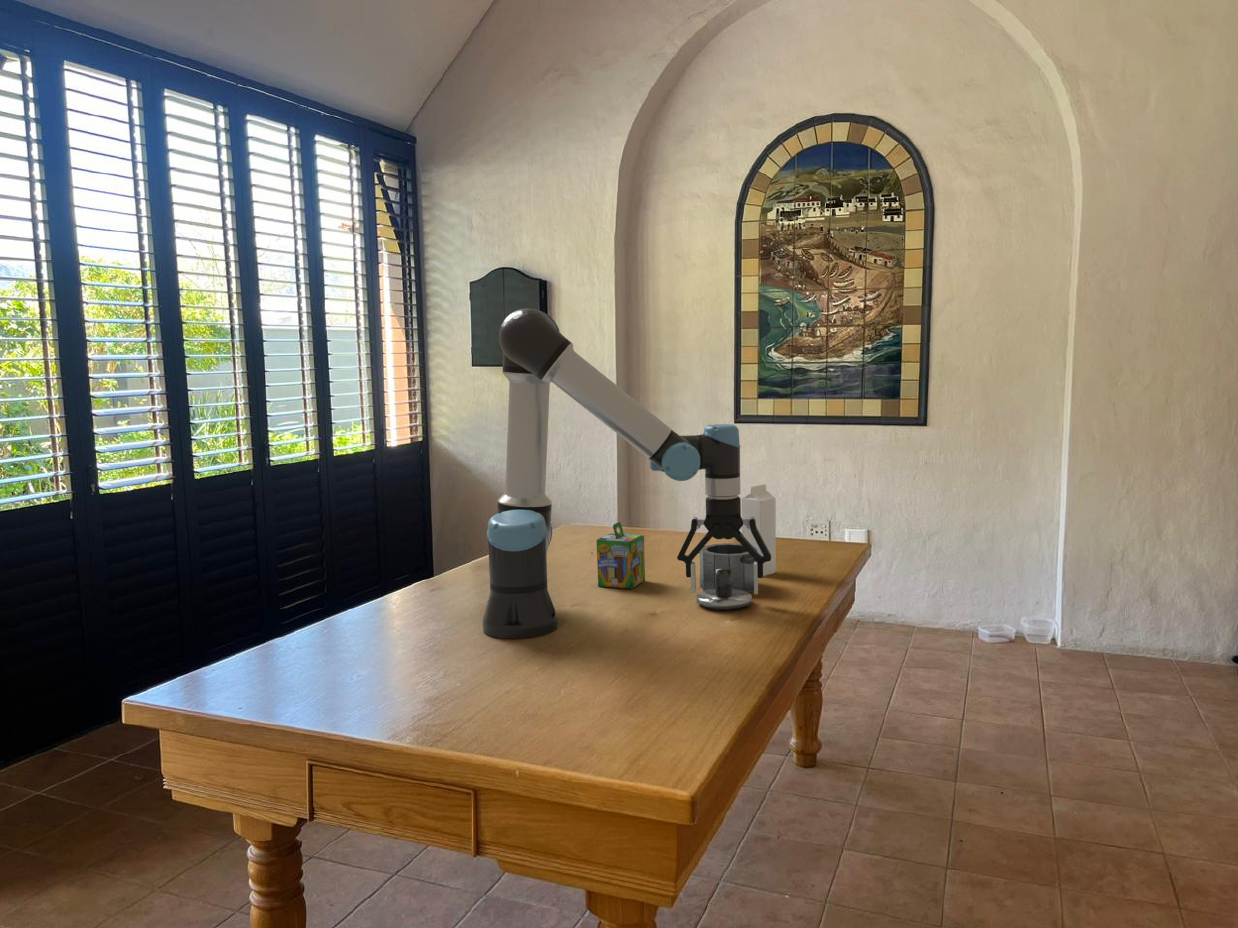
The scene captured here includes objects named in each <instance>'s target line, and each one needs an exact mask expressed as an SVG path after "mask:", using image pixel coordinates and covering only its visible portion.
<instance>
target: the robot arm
mask: <svg viewBox="0 0 1238 928" xmlns="http://www.w3.org/2000/svg"><path fill="white" fill-rule="evenodd" d="M498 333H499V334H498V339H499V345H500V348H501V350H502V353H503V355H502V375H504V377H505V378H506V380H508V383H509V384H508V386H509V387H508V405H507V406H508V408H507V409H508V414H507V435H506V436H507V438H506V442H507V443H506V463H505V465H506V466H505V486H504V487H505V490H504V493H503V494H502V495H501V496H500V497H499V498H498V499H497V512H496V513H495V514H494V515H492V516H491V517H490V519H488V522H487V531H486V537H487V541H488V543H487V545H488V548H487V550H488V570H489V571H488V572H489V595H488V599H487V604H486V605H485V611H484V614H483V617H482V631H483V633H484V634H486V635H488V636H490V637H494V638H499V639H526V638H527V639H528V638H536V637H540V636H544V635H548V634H550V633H551V632H553V631H555V630H557V628H558V615H557V612H556V609H555V606H554V604H553V601H552V598H551V595H550V593H549V589H548V567H547V566H548V563H547V562H548V561H547V558H548V557H547V551H548V548H549V547H550V545H551V541H552V539H553V526H552V504H553V503H552V500H551V499H550V498H549V496H547V494H546V484H547V483H546V481H547V480H546V479H547V457H548V435H549V434H548V433H549V411H550V388H551V387H550V386H551V383H553V384H554V385H555V387H557V388H559V389H560V390H561V391H563V392H564V393H565V394H566V395H567V396H569V397H570V398H571V399H573V400H574V401H575V402H576V403H578V404H579V405H580V406H581V407H583V408H584V409H585V410H587V411H588V412H589V413H590V414H592V415H593V417H595V418H597V419H598V420H599V421H600V422H601V423H603V424H604V425H606V426H607V427H608V428H609V429H611V430H612V431H613V432H614V433H616V434H617V435H618V436H620V437H621V438H622V439H624V441H626V442H627V443H628V444H630V445H631V446H632V447H633V448H635V450H637V451H639V452H640V453H641V454H642V455H643V456H645V457H646V458H647V459H648V461H649V468H650V470H651V471H652V472H662V473H664V474H665V475H666V476H667V477H668V478H670V479H671V480H674V481H677V482H684V481H689V480H690V479H692V478H694V477H695V476H696V475H697V473H698V472H699V470H704V482H705V483H704V486H705V488H704V489H705V493H704V494H705V495H706V496H707V497H706V498H705V518H704V519H703V518H698V517H697V516H694V517H693V518H692V520H691V524H690V530H689V532H688V534H687V536H686V538H685V540H684V542H683V544H682V546H681V548H680V550H679V552H678V554H677V557H676V559H677V560H678V561H681V562H684V564H685V576H686V578H690V593H691V594H696V591H697V580H696V578H697V577H696V561H695V560H694V559H695V557H696V556H697V555H698V554H700V553H699V552H700V551H701V549H702V548H703V547H704V546H707V544H708V542H709V541H710V540H711V539H712V538H714V539H715V540H732V539H735V540H736V541H737V542H738V544H741V545H742V546H743V547H744V548H745V549H746V551H747V552H748V553H749V554H750V555H751V556H752V557H753V558H754V560H755V561H756V562H754V591H753V594H754V595H758V594H759V579H763V577H764V576H763V564H764V563H765V562H767V561H770V560H771V554H770V552H769V550H768V548H767V546H766V544H765V543H764V541H763V539H762V537H761V535H760V533H759V531H758V529H757V527H756V520H755V518H754V517H751V518H750V519H742V498H741V497H740V494H741V445H740V431H739V430H740V429H739V428H738V426H736V425H735V424H729V423H727V424H726V423H724V424H723V423H719V424H718V423H717V424H707V425H705V426H704V429H703V434H696V435H693V434H692V435H691V434H690V435H680V434H678V433H677V432H675V430H672V428H671V427H669V426H668V425H667V424H665V423H664V422H663V421H662V420H660V419H659V418H658V417H657V416H656V415H654V414H653V413H652V412H651V411H650V410H648V409H647V408H646V407H644V406H643V405H642V404H641V403H640V402H638V401H637V400H636V399H634V398H633V397H632V396H630V394H628V393H627V392H625V390H624V389H622V388H621V387H620V386H618V385H617V384H616V383H615V382H614V381H612V380H611V379H609V378H608V377H607V376H606V375H605V374H604V373H602V372H601V371H600V370H598V369H597V368H596V367H594V365H592V364H591V363H590V362H588V361H587V360H586V359H584V358H583V357H582V356H581V355H579V354H578V353H577V352H576V351H575V349H574V343H572V342H571V341H570V340H569V339H568V338H566V337H565V336H564V335H563V334H562V333H561V331H560V329H559V326H558V324H557V323H556V321H555V319H553V318H552V316H551V315H549V314H547V313H546V312H544V311H542V310H538V309H535V308H529V307H528V308H527V307H526V308H520V309H517V310H515V311H513V312H511V313H509V315H507V316H506V317H505V319H504V320H503V322H502V323H501V326H500V328H499V332H498ZM743 525H746V527H747V528H748V529H750V530H751V533H752V535H753V536H754V538H755V540H756V542H757V544H758V546H759V548H760V550H761V552H762V554H763V556H761V555H760V554H759V553H758V552H757V551H756V550H755V548H754V547H753V546H752V545H751V544H750V543H749V542H748V540H747V539H746V538H745V537H744V536H743V534H742V531H741V530H742V526H743ZM702 526H704V527H705V529H706V530H707V533H706V534H705V535H704V536H703V537H702V538H701V540H700V541H699V542H698V543H697V545H695V547H694V548H693V549H692V551H691V552H690V553H688V555H687V554H686V552H687V550H688V548H689V547H690V544H691V542H692V540H693V538H694V536H695V534H696V533H697V530H699V529H701V527H702ZM693 560H694V561H693Z"/></svg>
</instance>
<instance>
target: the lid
mask: <svg viewBox="0 0 1238 928" xmlns="http://www.w3.org/2000/svg"><path fill="white" fill-rule="evenodd" d="M715 587H716V589H710V590H705V591H704V590H701V591H700V592H697V593H696V595H695V596H696V598H695V599H696V603H697V604H698V605H700V606H703V607H706V608H708V609H711V610H716V611H732V610H738V609H740V608H742V607H747V606H748V605H750V604H752V601H753V600H752V599H753V598H752V594H751V593H750V592H746V591H742V590H737V589H732V568H730V567H717V568H715Z"/></svg>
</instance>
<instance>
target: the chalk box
mask: <svg viewBox="0 0 1238 928" xmlns="http://www.w3.org/2000/svg"><path fill="white" fill-rule="evenodd" d="M612 528H613V529H612V530H613V533H608V534H606V535H603V536H601V537H598V538H597V539H596V561H597V562H596V565H597V587H599V588H600V587H601V588H616V589H617V588H618V589H619V588H620V589H630V590H631V589H632V590H633V589H634V588H635V587H637V586H639V585H640V584H642V583H644V582H645V581H646V569H645V568H646V567H645V565H646V563H645V535H642V534H632V533H624V529H623V526H622V523H621V522H620V521H618V522H615V523H613V525H612ZM617 529H619V532H618V531H617Z"/></svg>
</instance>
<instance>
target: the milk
mask: <svg viewBox="0 0 1238 928" xmlns="http://www.w3.org/2000/svg"><path fill="white" fill-rule="evenodd" d="M776 499H777V498H775V496H774V495H772V494H771V493H770V492H769V491H768V490H767V484H765V483H764V484H759V485H754V486H751V487H750V493H748V494H747V495H745V496H743V497H742V498H741V518H742V519H750V518H751V517H754V518H755V520H756V527H757V529H758V531H759V533H760V535H761V537H762V539H763V541H764V543H765V544H766V546H767V548H768V550H769V552H770V554H771V560H770V561H767V562H765V563H764V564H763V577H766V576H771V575H773V574H776V569H777V568H776V567H777V564H776V563H777V562H776V559H777V557H776V547H777V546H776V544H777V543H776V541H777V540H776V539H777V538H776V537H777V534H776V527H777V526H776V524H777V523H776V510H777V509H776ZM741 533H742V534H743V536H744V537H745V538H746V539H747V540H748V542H749V543H750V544H751V545H752V546H753V547H755V548H756V549H757V552H758V553H759V554H760V555H761V556H763V554H762V552H761V550H760V548H759V546H758V544H757V542H756V540H755V538H754V536H753V535H752V533H751V530H750V529H748V528H747V527H746V525H743V526H742V527H741Z"/></svg>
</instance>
